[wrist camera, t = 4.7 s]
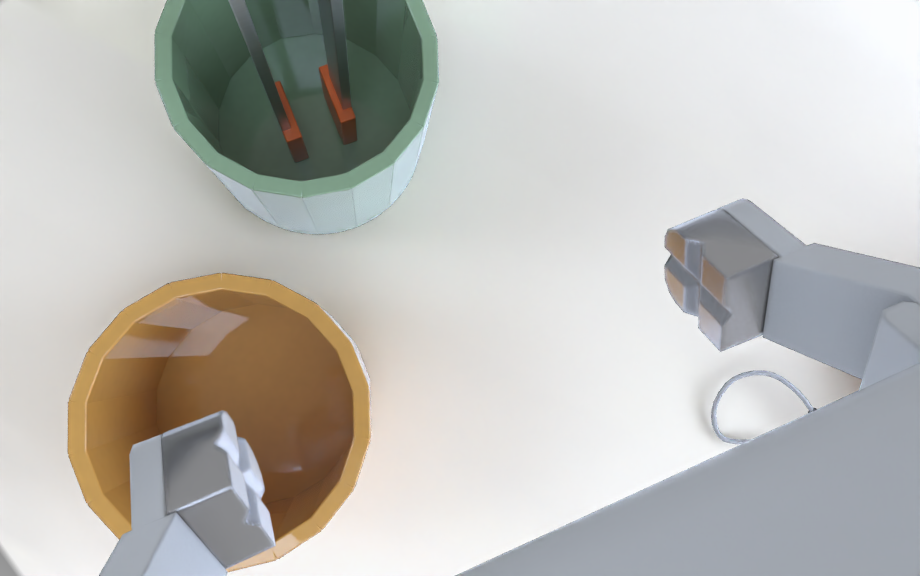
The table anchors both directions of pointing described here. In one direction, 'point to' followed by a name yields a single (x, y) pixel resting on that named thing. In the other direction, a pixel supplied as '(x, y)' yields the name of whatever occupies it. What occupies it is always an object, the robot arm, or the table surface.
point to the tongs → (330, 74)
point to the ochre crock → (227, 397)
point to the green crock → (301, 104)
